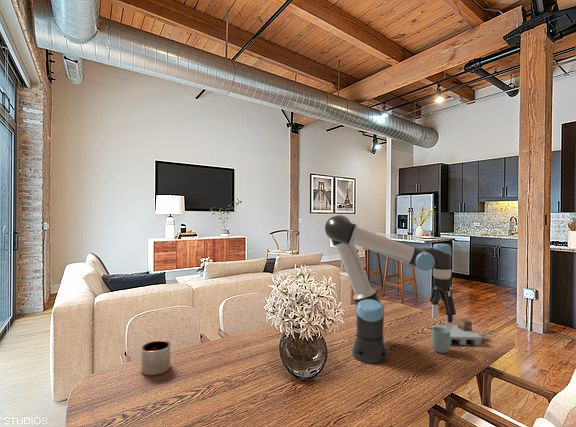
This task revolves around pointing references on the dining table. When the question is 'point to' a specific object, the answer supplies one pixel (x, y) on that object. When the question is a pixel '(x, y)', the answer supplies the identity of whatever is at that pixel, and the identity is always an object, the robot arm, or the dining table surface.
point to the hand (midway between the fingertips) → (441, 323)
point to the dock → (463, 336)
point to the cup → (440, 339)
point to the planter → (155, 357)
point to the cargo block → (464, 324)
